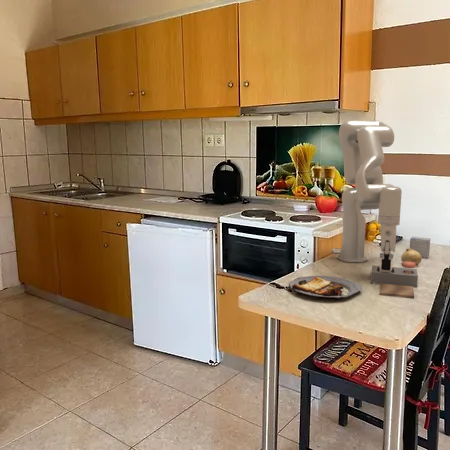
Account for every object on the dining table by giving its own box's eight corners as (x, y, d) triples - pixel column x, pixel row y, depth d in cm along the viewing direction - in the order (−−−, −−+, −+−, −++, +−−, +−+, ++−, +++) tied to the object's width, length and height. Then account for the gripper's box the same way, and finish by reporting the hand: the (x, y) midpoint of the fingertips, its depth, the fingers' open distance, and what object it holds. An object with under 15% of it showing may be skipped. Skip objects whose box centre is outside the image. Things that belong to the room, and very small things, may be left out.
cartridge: (378, 281, 176) (379, 255, 174) (378, 277, 180) (380, 252, 178) (391, 282, 174) (393, 256, 172) (391, 279, 179) (393, 253, 177)
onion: (417, 262, 202) (419, 246, 201) (423, 267, 195) (424, 251, 193) (398, 262, 203) (399, 246, 202) (403, 267, 195) (404, 250, 194)
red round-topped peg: (401, 281, 173) (402, 263, 172) (401, 277, 177) (402, 260, 176) (414, 282, 172) (415, 264, 170) (413, 279, 176) (415, 261, 174)
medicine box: (429, 256, 212) (430, 238, 211) (427, 258, 209) (429, 239, 207) (410, 254, 216) (412, 236, 215) (408, 256, 213) (410, 237, 211)
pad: (379, 294, 160) (379, 292, 160) (380, 285, 171) (380, 283, 170) (414, 298, 157) (414, 296, 157) (412, 288, 167) (413, 286, 167)
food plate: (335, 307, 148) (336, 296, 148) (275, 292, 164) (276, 282, 163) (371, 290, 166) (371, 281, 166) (314, 278, 182) (314, 269, 181)
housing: (370, 282, 174) (371, 272, 173) (371, 275, 183) (372, 265, 183) (417, 286, 169) (417, 276, 168) (415, 279, 178) (416, 269, 177)
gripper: (400, 224, 164) (396, 275, 167) (399, 217, 180) (396, 263, 183) (377, 223, 166) (374, 273, 170) (378, 216, 182) (376, 261, 185)
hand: (385, 267), depth 176 cm, fingers closed on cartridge, 4 cm apart
